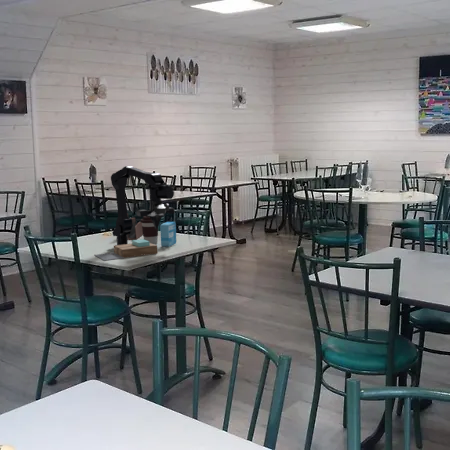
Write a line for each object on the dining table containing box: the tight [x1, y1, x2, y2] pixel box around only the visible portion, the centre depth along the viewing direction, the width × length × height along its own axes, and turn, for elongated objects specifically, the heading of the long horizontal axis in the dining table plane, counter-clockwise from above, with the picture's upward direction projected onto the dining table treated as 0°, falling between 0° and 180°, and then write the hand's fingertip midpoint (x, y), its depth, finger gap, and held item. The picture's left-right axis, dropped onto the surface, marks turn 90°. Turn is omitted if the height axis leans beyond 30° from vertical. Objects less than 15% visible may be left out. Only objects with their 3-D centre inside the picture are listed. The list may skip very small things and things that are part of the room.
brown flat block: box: [113, 242, 159, 259], centre depth 304 cm, size 14×18×4 cm
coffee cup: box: [140, 215, 159, 245], centre depth 330 cm, size 10×10×15 cm
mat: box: [94, 251, 125, 262], centre depth 298 cm, size 16×10×1 cm, turn 29°
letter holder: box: [127, 212, 143, 241], centre depth 353 cm, size 10×20×14 cm, turn 175°
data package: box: [159, 221, 177, 248], centre depth 324 cm, size 12×4×12 cm, turn 165°
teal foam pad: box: [131, 238, 150, 247], centre depth 305 cm, size 9×6×2 cm, turn 29°
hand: (156, 228), depth 308 cm, fingers closed
